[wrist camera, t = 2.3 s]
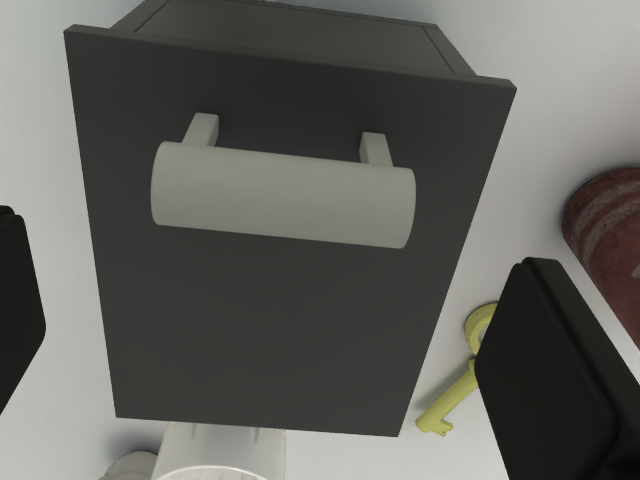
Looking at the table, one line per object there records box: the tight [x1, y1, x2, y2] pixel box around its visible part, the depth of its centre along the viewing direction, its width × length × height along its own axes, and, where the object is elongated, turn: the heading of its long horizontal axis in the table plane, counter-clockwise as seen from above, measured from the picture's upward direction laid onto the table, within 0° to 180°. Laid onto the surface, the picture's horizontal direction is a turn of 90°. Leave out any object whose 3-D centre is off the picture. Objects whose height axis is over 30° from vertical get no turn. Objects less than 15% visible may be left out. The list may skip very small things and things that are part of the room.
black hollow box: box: [109, 0, 476, 75], centre depth 25 cm, size 16×13×10 cm
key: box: [415, 303, 498, 437], centre depth 38 cm, size 7×12×2 cm, turn 163°
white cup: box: [150, 421, 286, 480], centre depth 34 cm, size 8×8×10 cm
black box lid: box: [63, 24, 517, 437], centre depth 18 cm, size 17×13×6 cm
